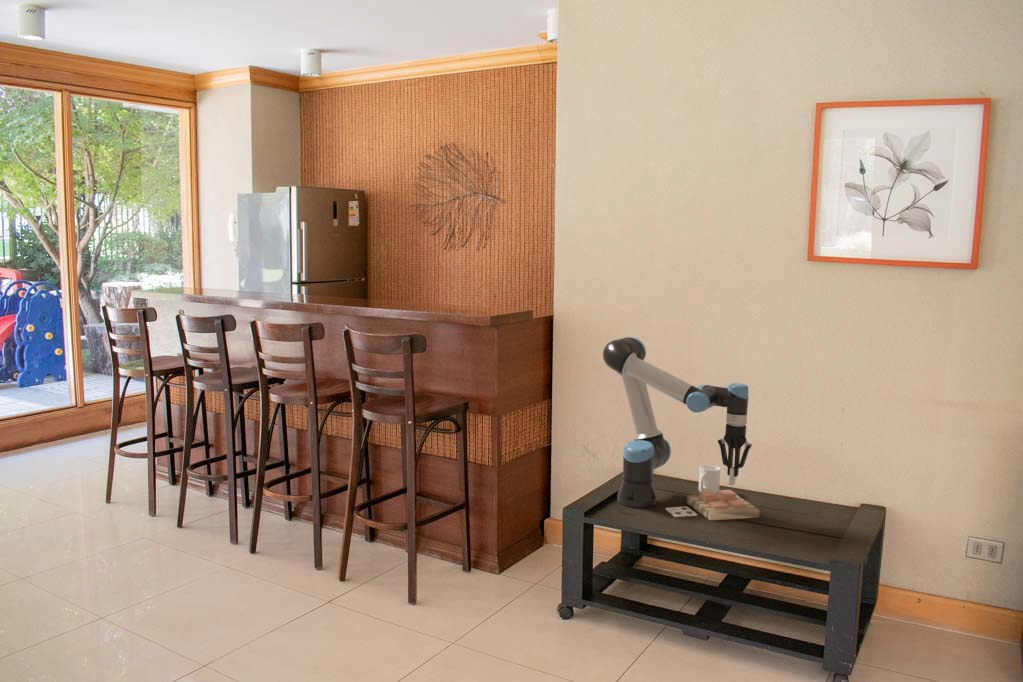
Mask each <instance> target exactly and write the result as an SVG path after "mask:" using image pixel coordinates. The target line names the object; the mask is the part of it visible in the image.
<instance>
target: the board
mask: <svg viewBox="0 0 1023 682" xmlns="http://www.w3.org/2000/svg"><path fill="white" fill-rule="evenodd" d="M699 495H700V494H696V495H686V504H687V505H688V506H690V507H691V508H693V509H694V510H696V511H697V512H698V513H699V514H701V515H702V516H703V517H704V518H706V519H708V520H709V521H722V520H723V521H724V520H738V519H754V518H755V519H757V518H760V508H758V507H756V506H755V505H753V504H751V503H750V502H748V501H747V500H745V499H743V498H742V497H740V496H739V495H738V494H736V500H740V501H742V502H744V503H745V504H746V507H744V508H733V507H732V506H730V505H729V504H728V501H723V500H721V499H720V498H718V494H717V502H719V501H721V502H723V503H724V504H726V505H727V509H713V508H712V507H710V506H709V502H703V501H702V500H701V499H699Z"/></svg>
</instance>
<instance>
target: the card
mask: <svg viewBox="0 0 1023 682" xmlns="http://www.w3.org/2000/svg"><path fill="white" fill-rule="evenodd" d="M664 510H666V512H668V513H669V514H670V513H671V514H670V515H671V516H673V517H674V518H682V517H683V518H686V516H687V517H697V516H698V513H696V512H695V511H693V510H692V509H691V508H690V507H688V506H676V507H675V506H674V507H671V506H670V507H665V509H664Z"/></svg>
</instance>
